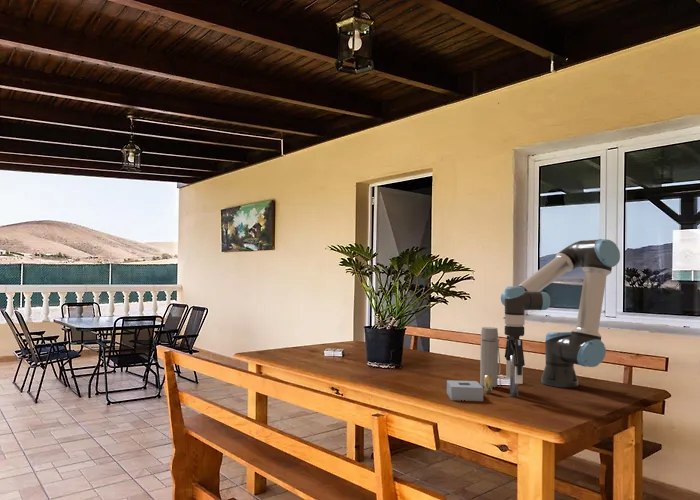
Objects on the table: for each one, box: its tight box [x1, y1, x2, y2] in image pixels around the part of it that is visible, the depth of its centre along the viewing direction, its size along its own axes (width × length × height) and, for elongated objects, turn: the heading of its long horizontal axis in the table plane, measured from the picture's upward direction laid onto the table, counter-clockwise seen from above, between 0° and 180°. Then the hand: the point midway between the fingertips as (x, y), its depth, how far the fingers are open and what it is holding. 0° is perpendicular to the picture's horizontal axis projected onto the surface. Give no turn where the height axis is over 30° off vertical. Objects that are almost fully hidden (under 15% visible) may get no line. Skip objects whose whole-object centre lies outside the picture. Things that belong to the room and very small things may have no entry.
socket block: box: [446, 379, 484, 402], centre depth 203 cm, size 12×12×5 cm
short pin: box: [483, 375, 493, 395], centre depth 211 cm, size 3×3×7 cm
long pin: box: [509, 355, 519, 398], centre depth 206 cm, size 3×3×16 cm
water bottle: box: [479, 326, 502, 389], centre depth 224 cm, size 9×8×25 cm
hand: (514, 380), depth 206 cm, fingers open, 12 cm apart
